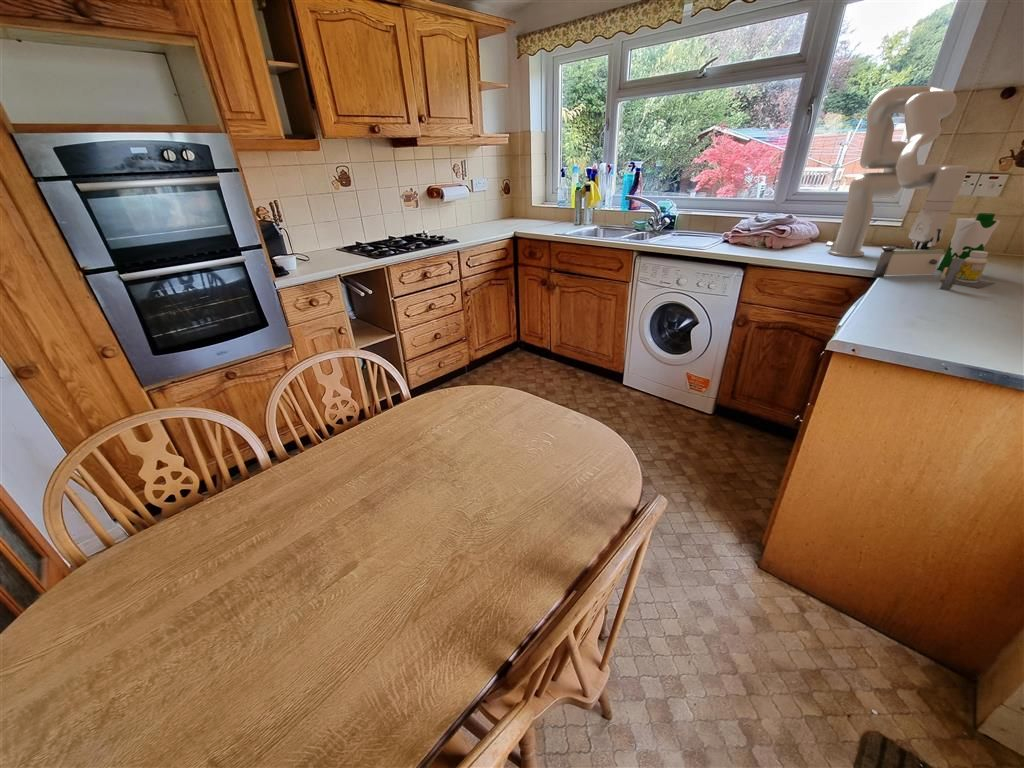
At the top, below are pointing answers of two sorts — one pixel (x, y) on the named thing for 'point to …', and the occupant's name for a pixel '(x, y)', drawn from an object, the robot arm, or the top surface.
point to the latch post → (951, 273)
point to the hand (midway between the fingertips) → (915, 261)
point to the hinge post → (883, 261)
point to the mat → (975, 285)
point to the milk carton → (969, 237)
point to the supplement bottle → (972, 267)
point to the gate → (914, 262)
